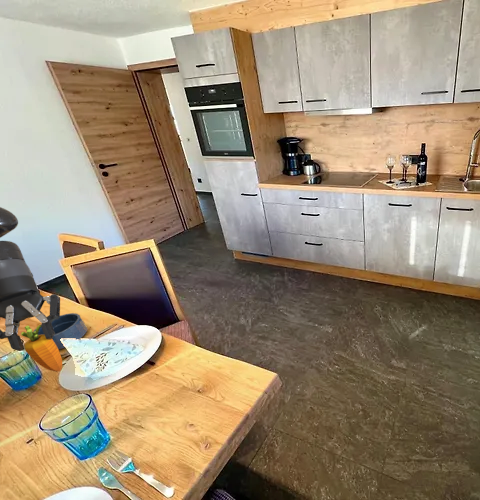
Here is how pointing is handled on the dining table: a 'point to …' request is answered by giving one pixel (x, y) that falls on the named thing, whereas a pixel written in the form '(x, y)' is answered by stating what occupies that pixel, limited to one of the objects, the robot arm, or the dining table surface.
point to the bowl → (67, 328)
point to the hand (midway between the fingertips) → (35, 343)
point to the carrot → (42, 350)
